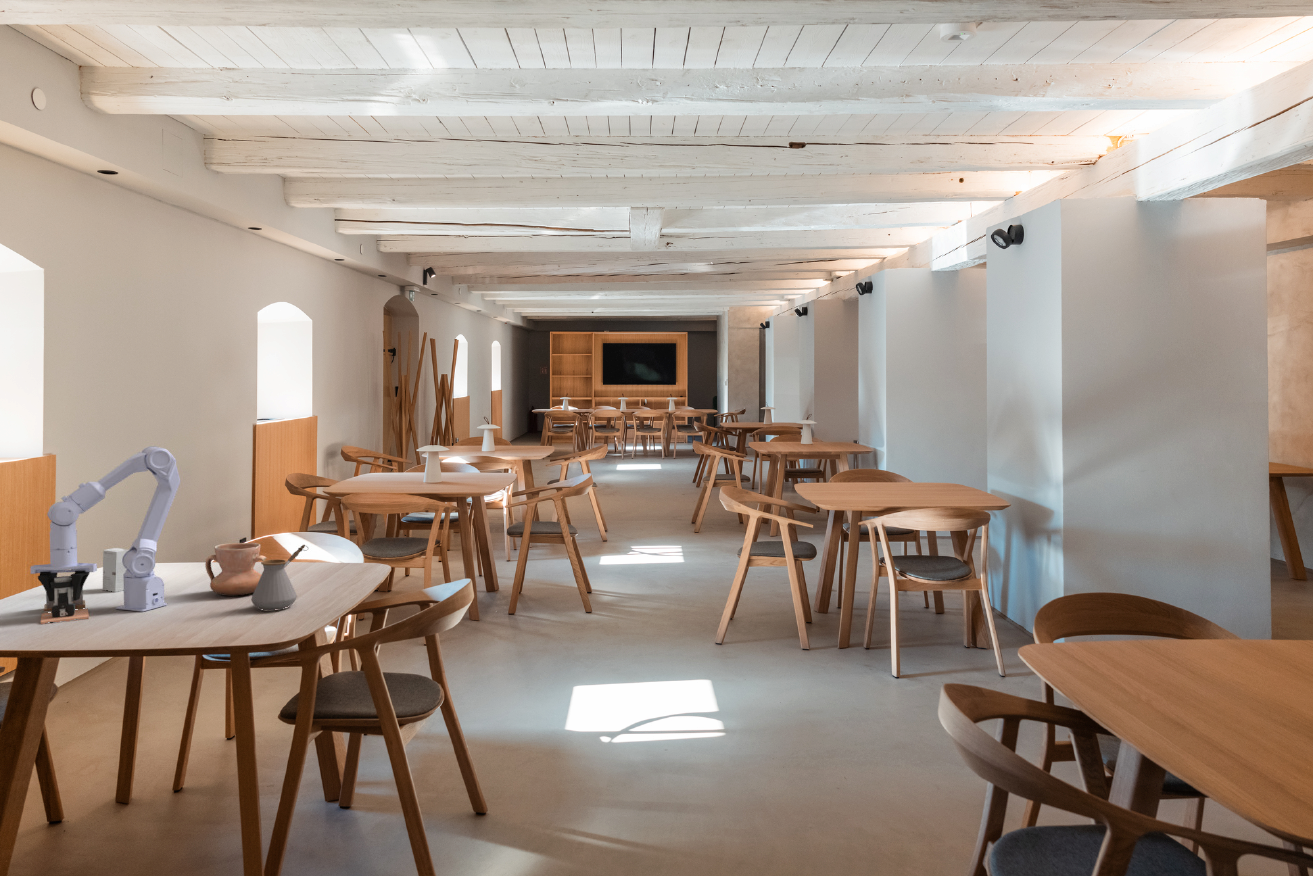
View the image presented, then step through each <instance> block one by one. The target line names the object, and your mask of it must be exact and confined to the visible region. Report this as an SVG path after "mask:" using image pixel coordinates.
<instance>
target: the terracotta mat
mask: <svg viewBox="0 0 1313 876" xmlns="http://www.w3.org/2000/svg"><path fill="white" fill-rule="evenodd" d="M51 614H52V612H51V613H44V612H43V613H41V618H40V625H46V624H45V623H48V622H57V623H61V622H60V621H66V622H71V621H70V620H74V619H83V620H87V619H86V618H90V617H89V616H90V615H89V609H88V607H87V608H85V609H78V610H75V614H74V615H73V616H62V617H52V615H51ZM44 615H51V616H44ZM74 621H75V620H74Z"/></svg>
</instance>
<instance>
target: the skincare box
mask: <svg viewBox="0 0 1313 876" xmlns="http://www.w3.org/2000/svg"><path fill="white" fill-rule="evenodd" d="M128 550H129V549H125V548H119V547H113V548H108V549H103V552H102V590H103V591H106V590H108V591H107V592H111V591H112V593H118V591H119V592H123V591H122V590H124V581H123V574H124V573H125V572H126V570H127V569H126V568H125V567H124V566H123V563H122V558H123V556H124V554H125V553H126V552H127V551H128Z"/></svg>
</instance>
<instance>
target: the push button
mask: <svg viewBox="0 0 1313 876" xmlns="http://www.w3.org/2000/svg"><path fill="white" fill-rule="evenodd" d="M50 584H51V588H54V593H55V603H54V604H53V605H58V606H53V607H52V611H47V612H52V614H51V615H52V617H62V616H73V615H74V614H75V605H74V604H72V603H73V602H72V598H71V587H72V586H73V585H72V580H71V576H70V575H65V576H64V575H63V576H62V575H61V576H57V577H55V578H54V581H52V582H50ZM67 589H68V592H67ZM58 590H59V593H58ZM58 596H59V598H58ZM68 603H69V604H68ZM51 615H44V616H51Z"/></svg>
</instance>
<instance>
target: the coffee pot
mask: <svg viewBox="0 0 1313 876" xmlns="http://www.w3.org/2000/svg"><path fill="white" fill-rule="evenodd" d="M305 547H306V548H307V549H305ZM308 549H309V546H308V545H305V544H302V545H301V546H300V547H298V549H297V550H295V551H294V552H293V553H292V555H291V556H290V557H289V558H288V560H286V559H267V560H266V559H265V560H264V561H261V562H260V563H261V564H260V565H262V566H263V567H262V568H263V571H262V574H261V577H260V580H259V582H258V584H257V587H256V589H255V591H254V592H253V593H252V596H251V597H250V599H251V603H252V605H253V606H254V607H255V608H258V610H259V609H263V610H275V609H283V608H285V607H288V606H291V605H293V604H294V603H295V601H296V600H297V598H298V594H297V592H296V591H295V588H294V587H293V584H292V582H291V580H290V578H289V575H288V574H287V572H286V569H285V568H286V567H287V566H288V565H289V564H290V563H291V562H292V561H294V560H295V558H297V557H298V556H299V554H300V552H302V551H304V552H305V551H308ZM283 610H284V609H283Z"/></svg>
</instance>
